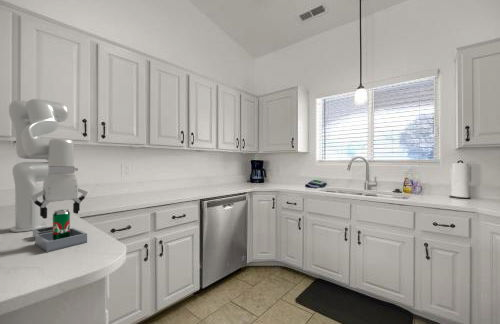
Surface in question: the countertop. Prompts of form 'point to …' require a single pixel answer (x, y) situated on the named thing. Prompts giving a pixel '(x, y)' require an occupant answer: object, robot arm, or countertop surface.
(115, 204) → the countertop surface
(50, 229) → the pin socket
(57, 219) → the soda can
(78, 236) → the tray
